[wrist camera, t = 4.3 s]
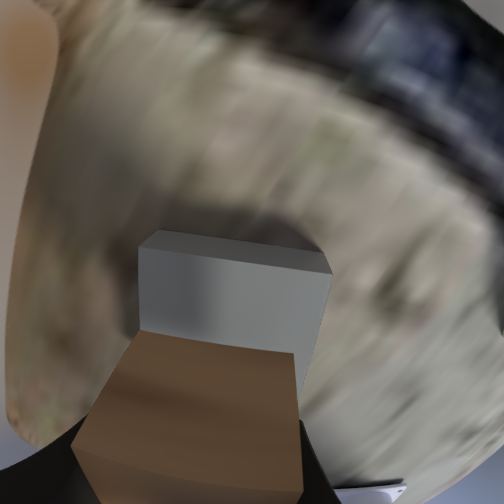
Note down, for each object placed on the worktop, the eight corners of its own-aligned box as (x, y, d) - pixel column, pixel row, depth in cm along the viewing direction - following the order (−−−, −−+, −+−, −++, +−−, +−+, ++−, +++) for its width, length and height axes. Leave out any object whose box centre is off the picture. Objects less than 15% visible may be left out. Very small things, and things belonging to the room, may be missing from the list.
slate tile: (291, 375, 18) (294, 411, 16) (159, 355, 18) (144, 388, 16) (322, 249, 16) (333, 274, 13) (160, 227, 16) (138, 246, 13)
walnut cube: (268, 444, 12) (265, 551, 7) (149, 425, 12) (113, 522, 7) (293, 353, 10) (303, 491, 5) (139, 329, 10) (70, 445, 5)
